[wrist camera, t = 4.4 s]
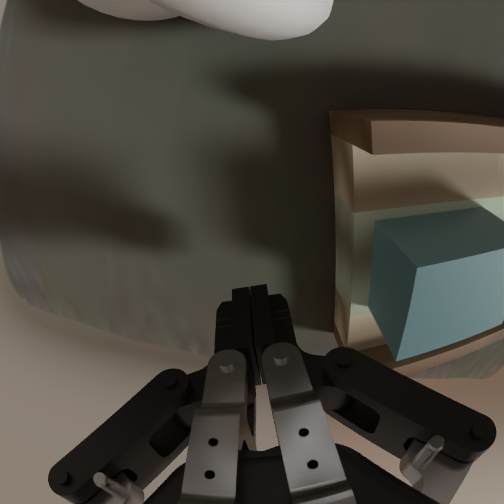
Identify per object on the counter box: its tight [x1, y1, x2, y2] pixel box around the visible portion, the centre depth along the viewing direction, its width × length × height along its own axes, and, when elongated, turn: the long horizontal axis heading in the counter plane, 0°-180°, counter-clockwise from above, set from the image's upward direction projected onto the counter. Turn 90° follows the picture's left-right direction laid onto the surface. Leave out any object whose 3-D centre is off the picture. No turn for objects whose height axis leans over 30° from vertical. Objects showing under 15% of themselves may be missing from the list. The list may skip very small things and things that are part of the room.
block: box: [368, 207, 504, 361], centre depth 12 cm, size 5×7×4 cm
